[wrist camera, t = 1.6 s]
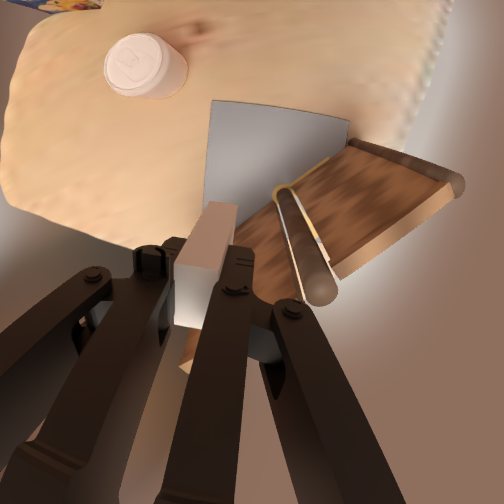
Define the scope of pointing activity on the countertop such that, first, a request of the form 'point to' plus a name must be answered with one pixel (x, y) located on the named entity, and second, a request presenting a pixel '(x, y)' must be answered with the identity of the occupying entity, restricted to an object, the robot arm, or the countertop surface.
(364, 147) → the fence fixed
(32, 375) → the robot arm
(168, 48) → the beverage can
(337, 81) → the countertop surface
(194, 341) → the brown wooden board
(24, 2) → the juice carton
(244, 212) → the card
